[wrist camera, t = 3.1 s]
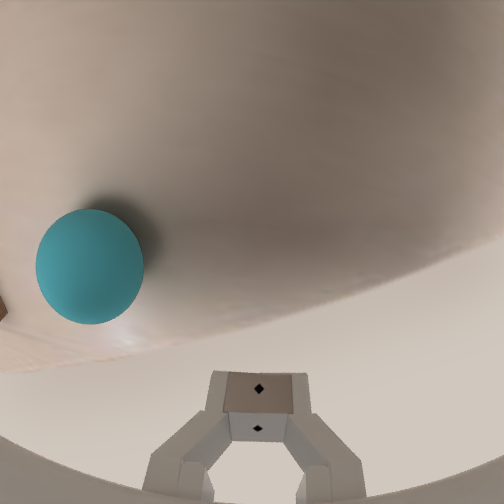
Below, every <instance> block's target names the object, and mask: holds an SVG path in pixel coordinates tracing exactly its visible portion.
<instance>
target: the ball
mask: <svg viewBox="0 0 504 504" xmlns="http://www.w3.org/2000/svg"><path fill="white" fill-rule="evenodd" d="M143 270H144V263H143V256H142V252H141V248H140V245H139V243H138V241H137V239H136V237H135V235H134V234H133V232H132V231H131V230H130V228H129V227H128V226H127V225H126V224H125V223H124V222H123V221H121V220H120V219H119V218H117V217H116V216H114V215H112V214H110V213H108V212H105V211H102V210H96V209H82V210H77V211H74V212H71V213H68V214H66V215H64V216H63V217H61V218H59V219H58V220H57V221H56V222H55V223H54V224H53V225H51V227H50V228H49V229H48V230H47V232H46V233H45V235H44V237H43V238H42V240H41V243H40V245H39V248H38V252H37V257H36V274H37V280H38V284H39V287H40V289H41V292H42V294H43V296H44V297H45V299H46V301H47V302H48V303H49V304H50V306H51V307H52V308H53V309H54V310H55V311H56V312H58V313H59V314H60V315H62V316H63V317H65V318H67V319H69V320H71V321H74V322H77V323H81V324H100V323H104V322H107V321H110V320H112V319H114V318H116V317H117V316H119V315H120V314H122V313H123V312H124V311H125V310H126V309H127V308H128V307H129V306H130V305H131V304H132V302H133V301H134V299H135V298H136V296H137V294H138V292H139V290H140V287H141V283H142V279H143Z"/></svg>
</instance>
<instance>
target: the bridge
mask: <svg viewBox="0 0 504 504" xmlns="http://www.w3.org/2000/svg"><path fill="white" fill-rule="evenodd" d="M7 313H8V312H7V310H6V308H5V306H4V304H3V302H2V300H1V297H0V321H1V320H2V319H3V318H4V317H5V315H6V314H7Z"/></svg>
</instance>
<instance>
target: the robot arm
mask: <svg viewBox="0 0 504 504" xmlns="http://www.w3.org/2000/svg"><path fill="white" fill-rule="evenodd" d="M232 441H259V442H284V445H285V446H286V448H287V449H288V450H289V452H290V453H291V455H292V456H293V457H294V459H295V461H296V462H297V463H298V465H299V466H300V468H301V469H302V470H303V472H304V475H303V478H302V481H301V483H300V485H299V488H298V490H297V493H296V504H504V455H503V456H500V457H498V458H496V459H494V460H492V461H489V462H487V463H485V464H482V465H480V466H477V467H475V468H472V469H470V470H467V471H464V472H461V473H459V474H456V475H453V476H450V477H447V478H444V479H441V480H438V481H435V482H431V483H428V484H424V485H421V486H417V487H413V488H409V489H405V490H401V491H396V492H392V493H387V494H382V495H377V496H371V497H366V489H365V483H364V476H363V470H362V463H361V460H360V459H359V458H358V457H357V456H356V455H355V454H354V453H353V452H352V451H351V450H350V449H349V448H348V447H347V446H346V445H345V444H344V443H343V441H342V440H341V439H340V438H339V437H338V436H337V435H336V434H335V433H334V432H333V431H332V430H331V429H330V428H329V427H328V426H327V425H326V424H325V422H324V421H323V420H322V419H321V418H320V417H319V416H318V415H317V414H312V413H311V402H310V393H309V384H308V375H307V374H306V373H291V374H290V373H244V372H243V373H242V372H228V371H213V373H212V375H211V380H210V386H209V391H208V396H207V401H206V407H205V411H199V412H198V413H197V414H196V415H195V416H194V417H193V418H192V419H190V420H189V421H188V422H187V423H186V424H185V425H184V426H183V427H182V428H181V429H179V430H178V431H177V432H176V433H175V434H174V435H173V436H172V437H170V438H169V439H168V440H167V441H166V442H165V443H164V444H162V445H161V446H160V447H159V448H158V449H157V450H155V451H154V452H153V453H152V454H151V457H150V461H149V465H148V469H147V472H146V476H145V480H144V483H143V487H142V490H140V489H136V488H132V487H128V486H124V485H121V484H117V483H114V482H110V481H106V480H104V479H100V478H97V477H94V476H91V475H88V474H85V473H82V472H80V471H77V470H74V469H71V468H69V467H66V466H64V465H61V464H59V463H56V462H54V461H52V460H49V459H47V458H45V457H42V456H40V455H38V454H36V453H34V452H32V451H29V450H27V449H25V448H23V447H21V446H19V445H17V444H15V443H13V442H11V441H9V440H8V439H6V438H4V437H2V436H1V435H0V504H232V503H220V502H213V501H214V489H213V486H212V484H211V481H210V478H209V476H208V473H207V471H208V470H209V469H210V468H211V467H212V465H213V464H214V463H215V462H216V460H218V458H219V457H220V456H221V455H222V454H223V452H224V451H225V450H226V449H227V448H228V446H229V445H230V444H231V443H232Z"/></svg>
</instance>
